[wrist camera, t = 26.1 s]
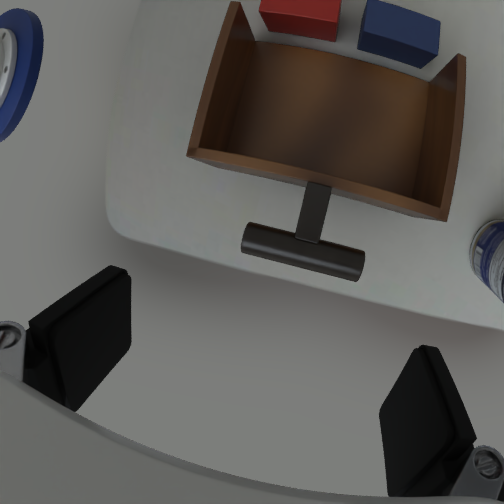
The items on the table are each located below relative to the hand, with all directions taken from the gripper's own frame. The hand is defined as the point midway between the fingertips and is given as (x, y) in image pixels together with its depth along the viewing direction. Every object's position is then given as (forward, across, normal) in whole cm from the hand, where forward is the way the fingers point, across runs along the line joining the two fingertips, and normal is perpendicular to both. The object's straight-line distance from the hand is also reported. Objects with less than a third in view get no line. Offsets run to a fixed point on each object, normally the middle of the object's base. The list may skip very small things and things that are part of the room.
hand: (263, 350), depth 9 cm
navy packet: (+13, -4, -14) cm, 20 cm away
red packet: (+14, +2, -14) cm, 20 cm away
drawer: (+14, -1, -6) cm, 15 cm away
